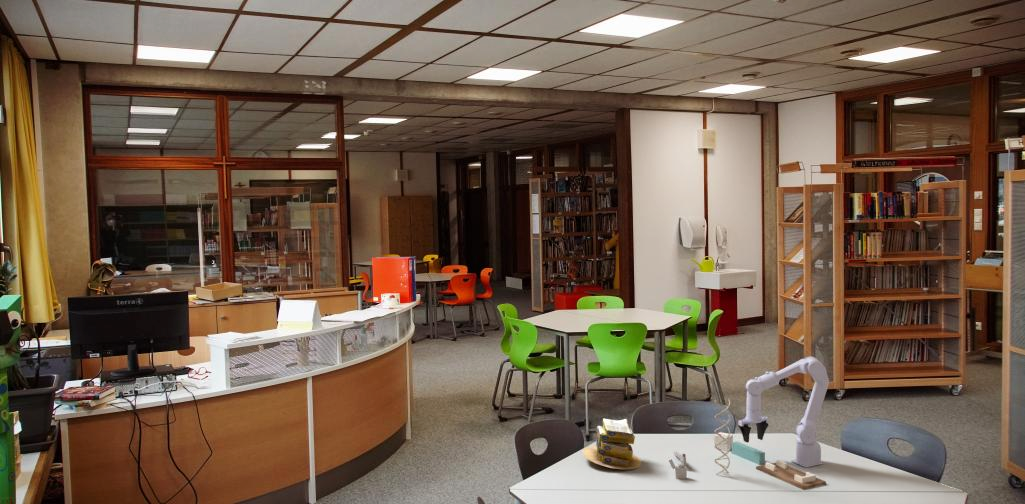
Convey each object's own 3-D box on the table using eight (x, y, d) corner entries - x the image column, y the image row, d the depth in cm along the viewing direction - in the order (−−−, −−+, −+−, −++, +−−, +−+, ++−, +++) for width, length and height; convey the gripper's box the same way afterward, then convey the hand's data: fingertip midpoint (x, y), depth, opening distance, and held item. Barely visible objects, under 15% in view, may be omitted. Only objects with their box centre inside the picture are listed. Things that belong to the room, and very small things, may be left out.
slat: (737, 452, 307) (737, 441, 306) (764, 464, 292) (764, 452, 292) (731, 453, 305) (731, 442, 305) (759, 465, 291) (759, 453, 291)
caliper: (686, 470, 286) (686, 455, 286) (683, 470, 286) (683, 455, 286) (675, 453, 306) (676, 439, 306) (673, 453, 306) (673, 439, 306)
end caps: (778, 464, 288) (778, 460, 288) (815, 480, 271) (815, 475, 271) (765, 467, 285) (765, 462, 285) (802, 483, 268) (802, 478, 268)
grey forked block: (685, 477, 278) (685, 457, 277) (686, 478, 276) (686, 458, 276) (667, 477, 278) (667, 457, 278) (668, 478, 276) (668, 458, 276)
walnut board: (778, 464, 291) (778, 461, 291) (825, 484, 269) (826, 481, 269) (756, 468, 286) (756, 466, 286) (802, 489, 264) (802, 486, 264)
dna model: (724, 469, 285) (724, 396, 284) (733, 475, 279) (734, 400, 278) (710, 471, 283) (710, 398, 282) (719, 477, 277) (720, 402, 276)
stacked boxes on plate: (644, 454, 305) (644, 416, 304) (638, 474, 281) (638, 433, 280) (587, 449, 311) (587, 412, 311) (577, 469, 288) (577, 428, 287)
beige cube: (714, 448, 312) (714, 435, 312) (719, 445, 317) (719, 432, 316) (727, 451, 308) (727, 437, 308) (732, 447, 313) (732, 434, 312)
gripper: (759, 404, 302) (759, 435, 302) (733, 408, 295) (733, 440, 296) (772, 408, 295) (771, 440, 296) (745, 412, 289) (745, 445, 290)
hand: (753, 440), depth 296 cm, fingers open, 7 cm apart
